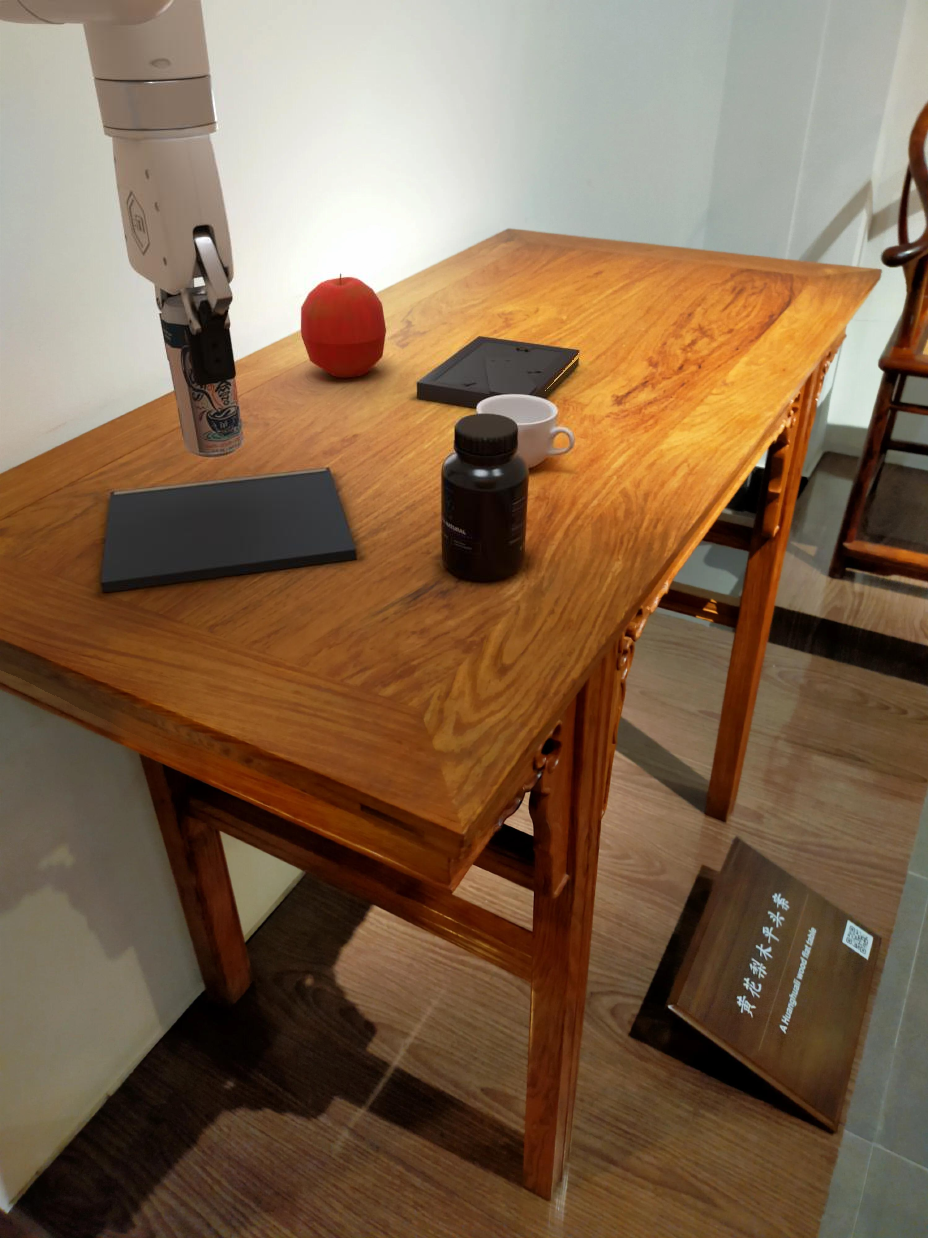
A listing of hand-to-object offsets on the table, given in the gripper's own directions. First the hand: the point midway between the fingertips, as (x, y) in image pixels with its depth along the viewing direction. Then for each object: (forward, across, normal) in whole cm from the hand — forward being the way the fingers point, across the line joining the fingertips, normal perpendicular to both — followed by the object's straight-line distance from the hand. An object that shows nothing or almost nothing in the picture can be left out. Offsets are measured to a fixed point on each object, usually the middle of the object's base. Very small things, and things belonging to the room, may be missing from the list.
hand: (201, 368), depth 73 cm
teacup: (+15, +4, +29) cm, 33 cm away
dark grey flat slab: (+14, 0, 0) cm, 14 cm away
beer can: (+7, 0, 0) cm, 7 cm away
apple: (+15, -28, +27) cm, 42 cm away
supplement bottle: (+15, +17, +15) cm, 27 cm away
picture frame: (+15, -15, +41) cm, 46 cm away
